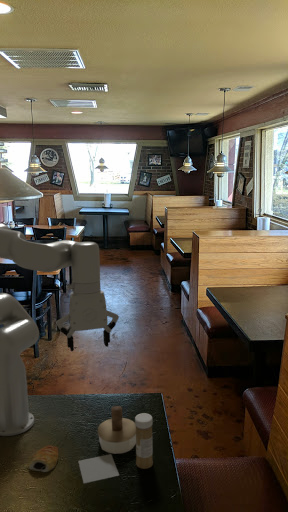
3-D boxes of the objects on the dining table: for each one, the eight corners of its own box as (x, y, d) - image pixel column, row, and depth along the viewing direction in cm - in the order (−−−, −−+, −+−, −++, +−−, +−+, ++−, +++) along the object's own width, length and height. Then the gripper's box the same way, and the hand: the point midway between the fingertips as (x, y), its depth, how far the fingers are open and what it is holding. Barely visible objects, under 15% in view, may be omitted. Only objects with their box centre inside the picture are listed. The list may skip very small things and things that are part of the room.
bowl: (104, 458, 112) (103, 444, 111) (97, 437, 121) (96, 424, 121) (139, 450, 115) (139, 437, 114) (130, 430, 124) (129, 418, 123)
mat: (83, 484, 102) (83, 483, 102) (78, 462, 110) (78, 460, 110) (119, 476, 104) (119, 475, 104) (111, 455, 113) (111, 454, 113)
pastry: (41, 450, 116) (40, 438, 115) (64, 452, 115) (64, 440, 114) (27, 473, 107) (26, 459, 106) (52, 475, 106) (51, 461, 105)
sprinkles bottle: (135, 459, 111) (134, 413, 109) (152, 458, 111) (151, 411, 109) (136, 470, 106) (135, 422, 104) (154, 469, 107) (153, 421, 105)
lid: (102, 445, 110) (101, 422, 109) (94, 424, 121) (93, 402, 120) (141, 438, 114) (141, 415, 113) (130, 417, 124) (130, 396, 123)
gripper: (55, 293, 107) (59, 356, 109) (120, 287, 112) (122, 348, 114) (53, 287, 114) (56, 346, 116) (114, 282, 119) (116, 339, 121)
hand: (89, 347), depth 115 cm, fingers open, 9 cm apart
